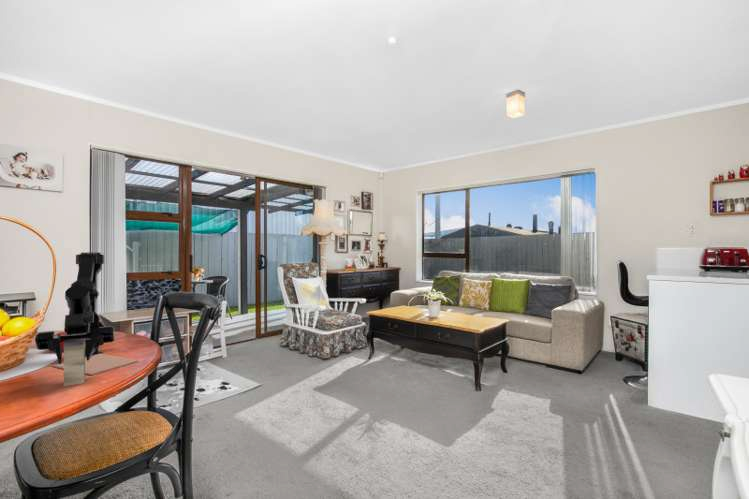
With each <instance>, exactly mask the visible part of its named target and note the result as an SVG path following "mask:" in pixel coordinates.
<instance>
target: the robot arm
mask: <svg viewBox="0 0 749 499" xmlns="http://www.w3.org/2000/svg"><path fill="white" fill-rule="evenodd" d="M104 264H105V254H101V252H97V251H96V252H84V251H83V252H80V253H78V254H75V265H78V273H77V278H76V280H75V281H73V282H72V283H71V285H70V287H68V288H67V289H66V290H65V294H64V298H65V301H66V304H67V307H68V309H69V311H68V314H65V316H64V329H63V330H64V331H63V332H66V334H65V335H59V334H57V333H55V331H54V330H53V331H42V332H38V333H36V335H35V337H34V342H35V346H36V348H37V350H38V351H39V350H40V351H43V350H48V351H49V352H52V351H53V352H54V354H55V355H56V359H57V362H58V364H61V363H63V362H62V360H63V350H62V347H61V342H63V341H66V340H75V339H85V357H87V361H89V359H90V358H91V356H92V355H96V354H100V353H101V354H104V353H103V351H101V350H99V348H100V346H103V345H104V344H108V343H113V342H114V341H115V327H114V326H112V325H110V326H107V325H106V326H105V325H104V324H103V322H102V321H101V318H100V316H99V314H98V313H97V311H96V306H97V305H96V304H97V303H96V302H97V301H96V300H97V299H98V297H99V296H100V292H99V291H98V289H97V280H98V275H99V273H100V272H101V271H102V269H103V265H104Z"/></svg>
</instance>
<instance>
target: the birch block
mask: <svg viewBox="0 0 749 499" xmlns="http://www.w3.org/2000/svg"><path fill="white" fill-rule="evenodd" d="M63 363H64V369H63V387H67V386H69V387H70V386H73V385H74V386H75V385H80V384H84V382H85V380H86V374H85V339H75V340H66V342H65V343H64V350H63Z"/></svg>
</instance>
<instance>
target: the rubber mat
mask: <svg viewBox="0 0 749 499" xmlns="http://www.w3.org/2000/svg"><path fill="white" fill-rule="evenodd" d="M136 363H139V360H137V359H132V358H126V357H123V356H122V357H121V356H116V355H111V354H105V353H100V354H96V355H92V356H91V358H90V359H89V361H87V357H85V375H88V376H91V377H92V376H94V375H99V374H102V373H105V372H108V371H109V372H110V371H112V370H115V369H119V368H122V367H125V366H129V365H133V364H136ZM52 367H53V368H56V369H62V370H64V362H61V364H59V363H58V364H53V365H52Z"/></svg>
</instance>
